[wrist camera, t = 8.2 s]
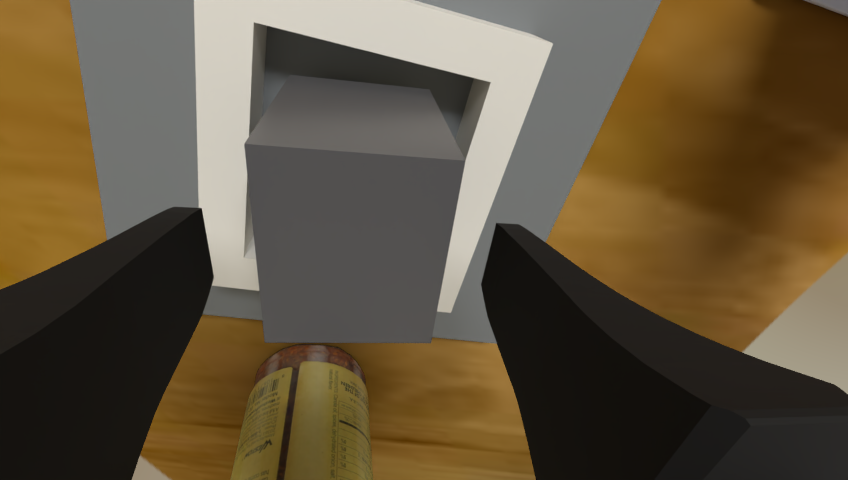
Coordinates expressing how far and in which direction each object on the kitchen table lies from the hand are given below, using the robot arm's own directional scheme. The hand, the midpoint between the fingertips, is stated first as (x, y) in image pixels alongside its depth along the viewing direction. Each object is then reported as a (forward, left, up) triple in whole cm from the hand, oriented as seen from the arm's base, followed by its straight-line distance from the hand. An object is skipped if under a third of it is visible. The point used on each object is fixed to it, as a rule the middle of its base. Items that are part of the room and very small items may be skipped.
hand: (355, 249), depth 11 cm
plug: (0, 0, -6) cm, 6 cm away
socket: (0, 0, -8) cm, 8 cm away
